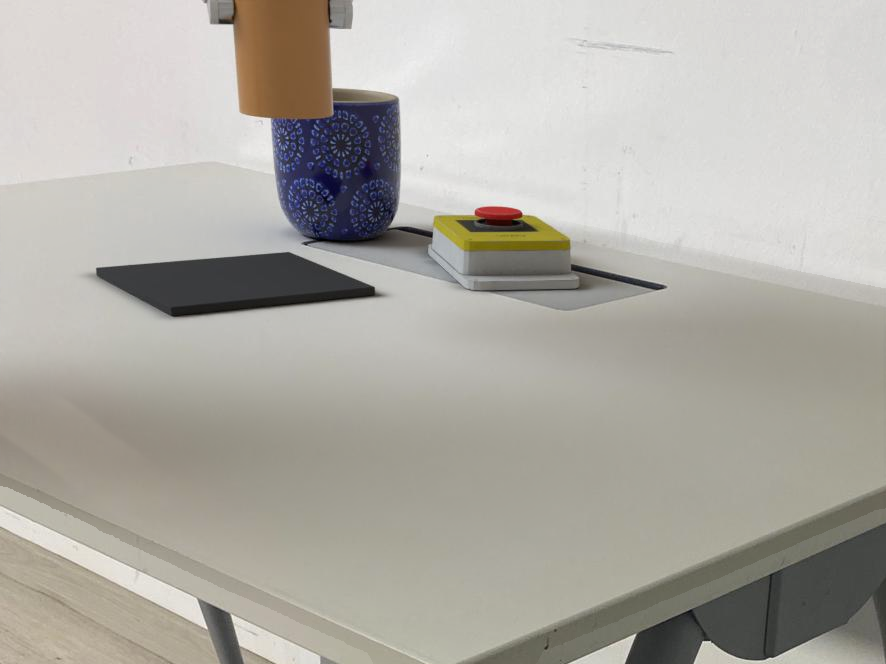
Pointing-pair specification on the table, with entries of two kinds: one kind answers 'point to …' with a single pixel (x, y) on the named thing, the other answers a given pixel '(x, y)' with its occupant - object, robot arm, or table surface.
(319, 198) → the planter
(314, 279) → the mat
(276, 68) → the pliers tin
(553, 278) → the emergency button
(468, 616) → the table surface
